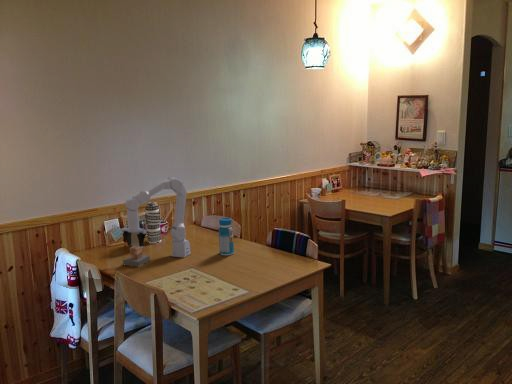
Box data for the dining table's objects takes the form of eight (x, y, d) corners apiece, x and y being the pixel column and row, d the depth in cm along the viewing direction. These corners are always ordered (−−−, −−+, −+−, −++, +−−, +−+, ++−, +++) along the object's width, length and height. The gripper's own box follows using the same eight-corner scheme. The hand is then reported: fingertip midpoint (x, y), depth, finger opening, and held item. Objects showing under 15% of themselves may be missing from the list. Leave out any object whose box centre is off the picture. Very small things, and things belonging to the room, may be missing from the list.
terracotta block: (142, 256, 252) (141, 246, 251) (137, 259, 248) (136, 248, 246) (135, 256, 253) (134, 245, 252) (130, 258, 249) (129, 247, 248)
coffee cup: (143, 251, 271) (141, 226, 268) (127, 251, 271) (125, 226, 268) (147, 246, 280) (145, 222, 277) (132, 246, 280) (129, 222, 278)
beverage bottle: (221, 256, 257) (219, 221, 253) (218, 251, 265) (216, 217, 261) (235, 254, 259) (234, 220, 255) (232, 250, 267) (231, 216, 263)
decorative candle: (165, 240, 291) (162, 201, 286) (154, 244, 283) (151, 204, 279) (154, 238, 296) (151, 200, 291) (144, 242, 288) (140, 203, 284)
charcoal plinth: (150, 261, 254) (149, 255, 253) (138, 267, 244) (138, 261, 244) (135, 259, 257) (134, 254, 257) (123, 265, 248) (122, 259, 248)
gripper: (117, 222, 246) (119, 246, 248) (139, 223, 240) (142, 249, 243) (125, 218, 252) (127, 242, 255) (148, 220, 246) (150, 245, 249)
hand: (135, 245), depth 249 cm, fingers open, 7 cm apart
